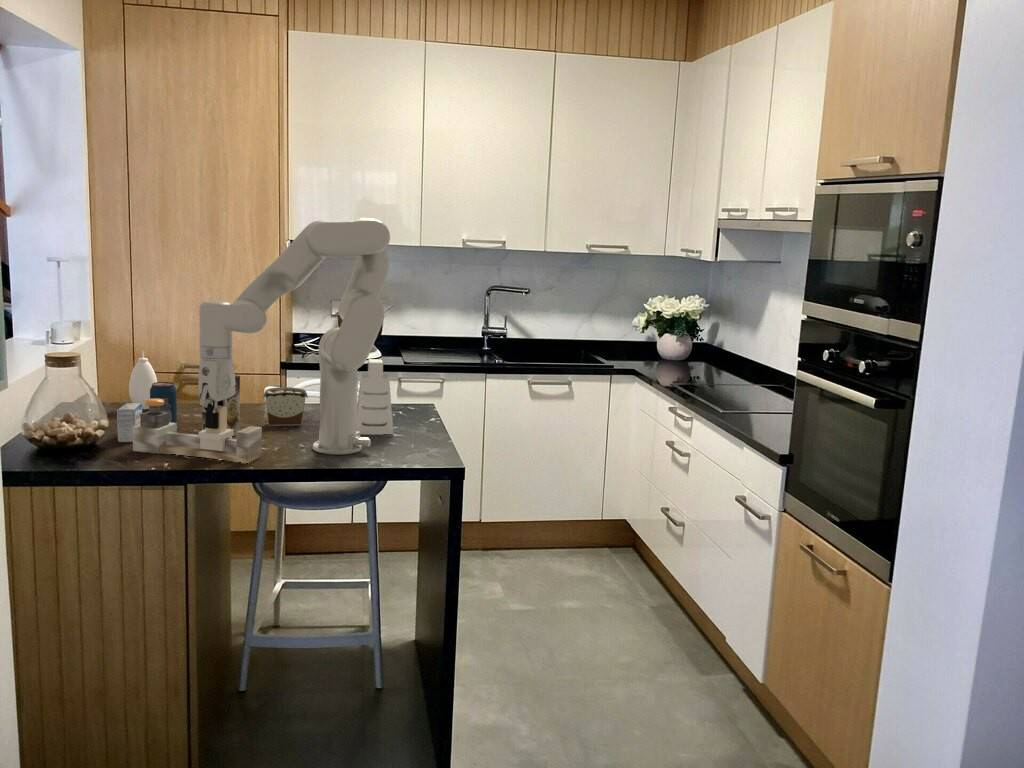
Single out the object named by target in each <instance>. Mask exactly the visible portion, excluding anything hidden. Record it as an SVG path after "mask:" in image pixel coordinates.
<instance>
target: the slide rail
mask: <svg viewBox="0 0 1024 768" xmlns="http://www.w3.org/2000/svg"><path fill="white" fill-rule="evenodd" d="M177 424H178V422H177V423H170V422H169V413H167V412H162V411H160V414H159V415H150V414H149V410H148V411H145V412H142V414H140V425H137V426H134V427H133V442H132V451H133V452H140V453H148V452H149V454H156V453H157V455H159V454H161V453H162V454H164V455H170V454H176V455H175V456H178V455H187V456H196V457H206V458H214V459H222V460H228V461H227V462H229V461H233V462H232V463H238V462H241V463H240V464H246V463H248V464H250V463H252V462H254V461H256V460H258V459H260V458H262V457H261V456H262V452H263V449H262V444H263V441H262V440H263V439H262V438H263V434H262V433H263V432H262V431H263V428H262V426H253V425H250V426H248V427H244V428H243V429H240V431H238V432H236V435H235V436H236V438H232V439H229V438H226V439H225V450H224V451H216V450H207V449H200V438H198V434H194V433H192V434H191V433H185V432H184V433H183V432H177V431H178V428H177V426H178V425H177ZM162 454H161V455H162ZM187 456H186V457H187ZM259 457H260V458H259ZM257 458H258V459H257ZM255 459H256V460H255ZM253 460H254V461H253ZM251 461H252V462H251ZM249 462H250V463H249Z"/></svg>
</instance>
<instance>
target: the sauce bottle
mask: <svg viewBox="0 0 1024 768" xmlns="http://www.w3.org/2000/svg"><path fill="white" fill-rule="evenodd" d="M141 351H142V352H141V357H139V358H138V359H137V362H136V363H135V364H134V367H133V369H132V371H131V373H130V378H129V382H128V395H129V398H130V400H131V403H140V404H142V409H147V410H149V406H147V405H145V400H147V399H150V389H151V387H152V383H155V382H158V380H157V375H156V373H155V370H154V368H153V366H152V364H151V363H150V362H149V359H148V358H147V357H145V353H144V352H145V351H144V349H142V350H141Z"/></svg>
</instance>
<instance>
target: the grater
mask: <svg viewBox="0 0 1024 768" xmlns="http://www.w3.org/2000/svg"><path fill="white" fill-rule="evenodd" d="M367 360H368V363H367V373H366V372H365V373H360V382H359V388H358V389H359V390H358V394H357V426H356V431H359V432H360V435H383V434H393V435H394V424H393V423H394V422H393V411H392V410H393V409H392V399H391V398H392V397H391V386H390V385H391V384H390V383H391V382H390V377H389V374H388V373H384V361H383V360H382V359H381V358H380V359H377V358H376V359H375V358H372V359H371V358H369V359H367Z"/></svg>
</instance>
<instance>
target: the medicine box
mask: <svg viewBox="0 0 1024 768" xmlns="http://www.w3.org/2000/svg"><path fill="white" fill-rule="evenodd" d="M142 413H143V410H142V404H140V403H132V402H130V403H128V402H127V403H124V404H123V405H122V406H121V407H119V408H118V409H117V410H116V415H117V416H116V420H117V440H118V443H133V427H134V426H137V425H140V414H142Z"/></svg>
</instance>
